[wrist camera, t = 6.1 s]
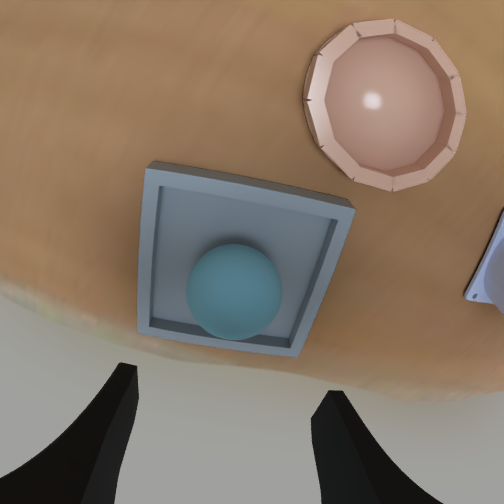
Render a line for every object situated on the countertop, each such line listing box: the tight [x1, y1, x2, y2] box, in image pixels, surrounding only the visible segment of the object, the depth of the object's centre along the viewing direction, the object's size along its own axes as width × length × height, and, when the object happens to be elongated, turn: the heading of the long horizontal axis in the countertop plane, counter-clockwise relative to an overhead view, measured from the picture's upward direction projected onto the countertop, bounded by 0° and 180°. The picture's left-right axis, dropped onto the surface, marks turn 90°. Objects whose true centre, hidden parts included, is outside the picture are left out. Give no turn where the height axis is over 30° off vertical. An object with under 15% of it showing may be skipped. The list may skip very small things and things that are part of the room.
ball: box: [186, 244, 282, 340], centre depth 17 cm, size 5×5×5 cm
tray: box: [137, 161, 356, 357], centre depth 19 cm, size 11×11×2 cm
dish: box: [303, 19, 467, 192], centre depth 15 cm, size 9×9×2 cm
